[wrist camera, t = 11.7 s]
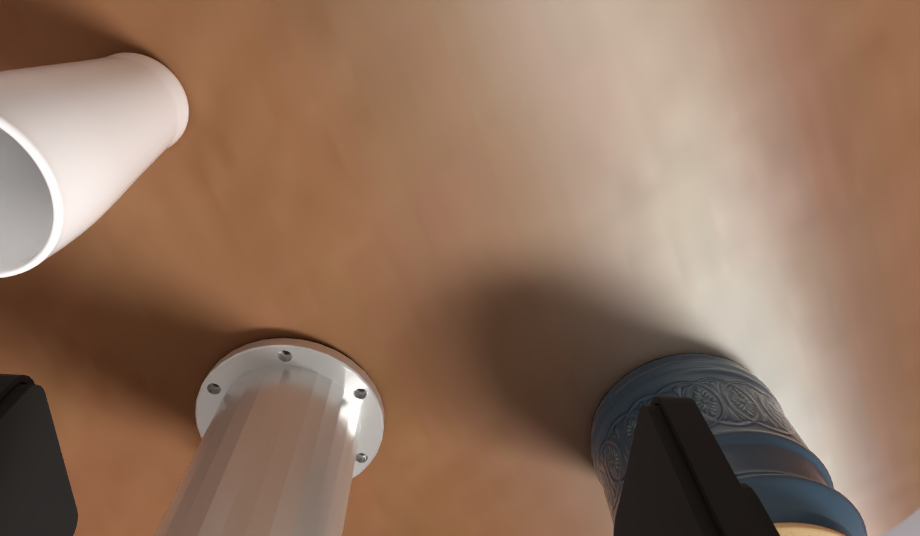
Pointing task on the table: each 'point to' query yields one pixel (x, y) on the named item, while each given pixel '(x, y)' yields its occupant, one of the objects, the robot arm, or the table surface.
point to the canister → (727, 441)
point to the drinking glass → (77, 146)
